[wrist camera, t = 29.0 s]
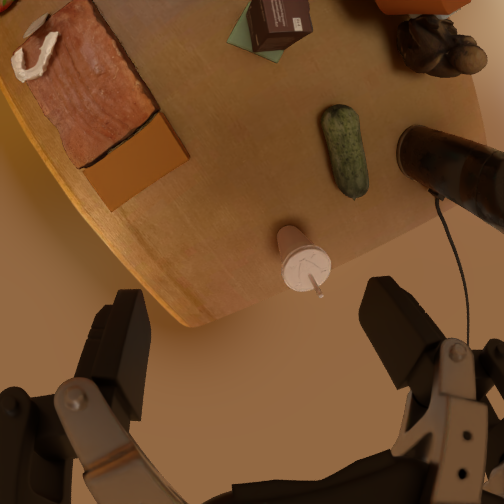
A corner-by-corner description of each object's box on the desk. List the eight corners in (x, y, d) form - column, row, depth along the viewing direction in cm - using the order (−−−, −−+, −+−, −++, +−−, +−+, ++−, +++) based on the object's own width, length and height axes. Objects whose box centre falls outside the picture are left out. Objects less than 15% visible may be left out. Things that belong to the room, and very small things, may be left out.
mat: (297, 23, 27) (299, 22, 27) (276, 63, 30) (277, 62, 30) (249, 2, 25) (249, 0, 25) (226, 42, 28) (226, 41, 28)
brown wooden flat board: (115, 206, 36) (108, 215, 34) (22, 54, 22) (10, 53, 19) (191, 155, 35) (189, 160, 32) (90, -6, 20) (82, -13, 17)
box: (242, 14, 26) (257, -21, 15) (277, 12, 26) (306, -21, 16) (249, 54, 29) (268, 33, 18) (284, 51, 29) (318, 31, 19)
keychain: (23, 42, 16) (43, 27, 17) (21, 39, 16) (41, 23, 16) (33, 25, 20) (50, 14, 20) (31, 23, 19) (48, 11, 19)
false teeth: (53, 69, 21) (62, 70, 23) (54, 26, 18) (62, 29, 20) (6, 91, 20) (16, 90, 22) (6, 50, 17) (15, 51, 19)
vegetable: (311, 108, 34) (325, 109, 30) (345, 100, 34) (362, 101, 29) (333, 199, 41) (347, 211, 37) (363, 189, 41) (379, 200, 36)
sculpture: (450, 31, 24) (508, 71, 17) (418, 72, 33) (464, 121, 25) (403, -9, 21) (461, 14, 13) (369, 38, 30) (413, 76, 22)
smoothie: (279, 261, 45) (304, 322, 33) (260, 230, 42) (282, 287, 30) (314, 242, 44) (351, 296, 32) (298, 209, 41) (335, 258, 29)
